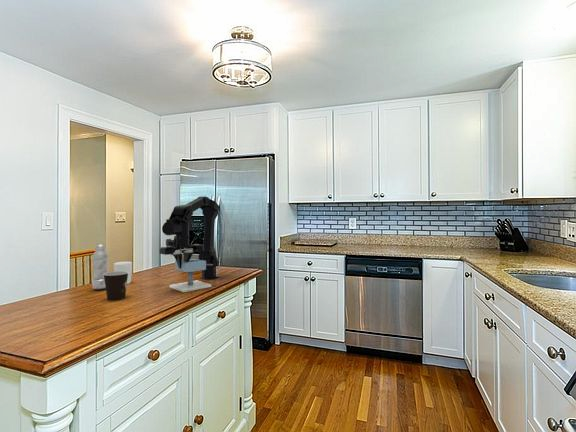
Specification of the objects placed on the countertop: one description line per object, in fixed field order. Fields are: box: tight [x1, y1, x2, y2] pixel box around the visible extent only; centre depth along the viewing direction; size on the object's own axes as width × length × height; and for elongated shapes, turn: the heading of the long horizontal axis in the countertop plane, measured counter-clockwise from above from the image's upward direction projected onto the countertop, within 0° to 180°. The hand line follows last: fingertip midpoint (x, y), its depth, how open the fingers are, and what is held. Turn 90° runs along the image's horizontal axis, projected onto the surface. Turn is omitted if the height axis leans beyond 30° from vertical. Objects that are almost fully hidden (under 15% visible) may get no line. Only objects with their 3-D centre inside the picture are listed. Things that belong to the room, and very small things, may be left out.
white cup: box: [113, 261, 133, 285], centre depth 152 cm, size 8×8×10 cm
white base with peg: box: [169, 271, 212, 293], centre depth 145 cm, size 14×13×7 cm
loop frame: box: [174, 258, 206, 273], centre depth 145 cm, size 10×10×4 cm
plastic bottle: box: [91, 243, 110, 291], centre depth 141 cm, size 6×7×20 cm
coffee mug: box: [104, 271, 128, 301], centre depth 128 cm, size 12×9×10 cm
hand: (182, 268), depth 142 cm, fingers closed on loop frame, 2 cm apart
